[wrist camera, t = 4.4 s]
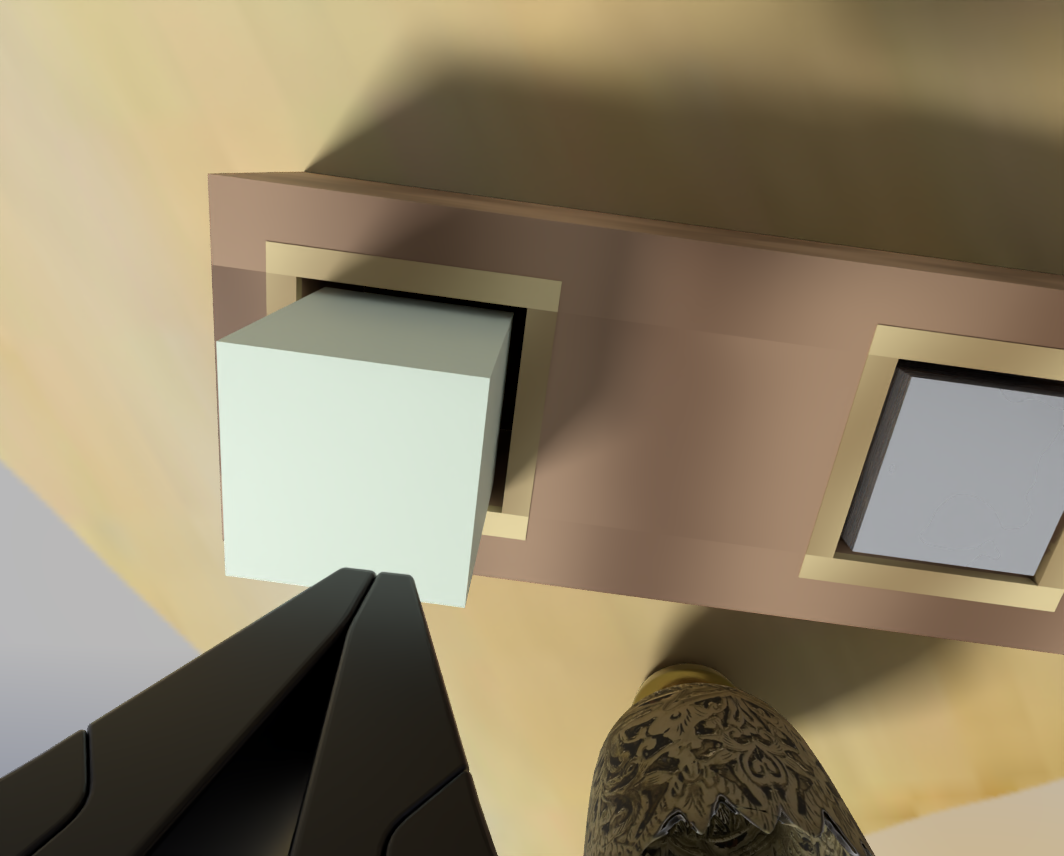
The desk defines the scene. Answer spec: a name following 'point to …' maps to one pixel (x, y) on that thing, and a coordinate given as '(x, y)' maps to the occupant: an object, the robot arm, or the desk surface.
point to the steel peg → (962, 469)
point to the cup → (712, 778)
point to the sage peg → (361, 439)
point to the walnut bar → (676, 390)
